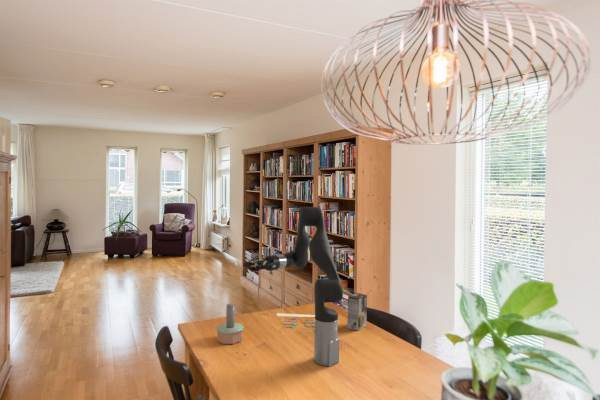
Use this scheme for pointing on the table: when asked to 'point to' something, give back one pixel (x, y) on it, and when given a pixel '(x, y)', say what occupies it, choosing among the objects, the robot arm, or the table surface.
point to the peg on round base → (230, 322)
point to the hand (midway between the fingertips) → (250, 266)
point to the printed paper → (296, 318)
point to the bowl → (229, 338)
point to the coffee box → (357, 311)
